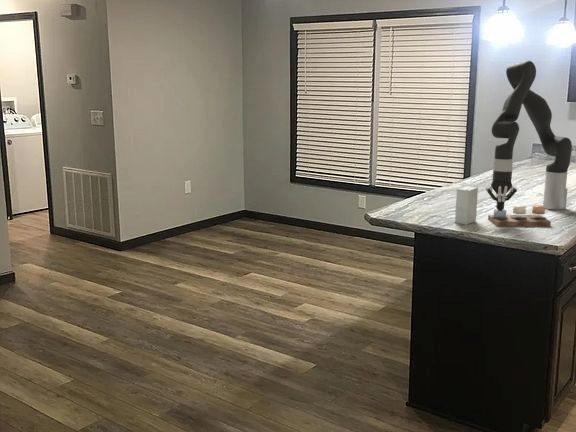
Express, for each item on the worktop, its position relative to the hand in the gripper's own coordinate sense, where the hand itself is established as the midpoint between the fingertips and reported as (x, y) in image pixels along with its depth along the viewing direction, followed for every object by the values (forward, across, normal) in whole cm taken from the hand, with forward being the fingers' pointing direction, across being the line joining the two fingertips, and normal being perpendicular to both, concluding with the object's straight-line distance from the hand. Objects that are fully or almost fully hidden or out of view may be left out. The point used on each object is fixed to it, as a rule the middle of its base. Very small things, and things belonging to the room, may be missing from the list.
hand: (499, 210), depth 276 cm
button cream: (+1, -8, 0) cm, 8 cm away
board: (+5, -8, 0) cm, 10 cm away
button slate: (+3, 0, 0) cm, 3 cm away
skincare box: (+6, +14, -1) cm, 15 cm away
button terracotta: (+1, -16, 0) cm, 16 cm away
